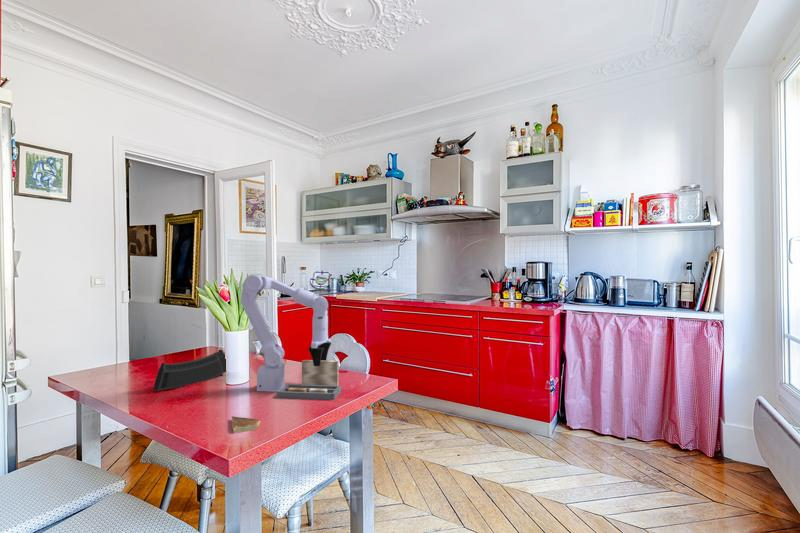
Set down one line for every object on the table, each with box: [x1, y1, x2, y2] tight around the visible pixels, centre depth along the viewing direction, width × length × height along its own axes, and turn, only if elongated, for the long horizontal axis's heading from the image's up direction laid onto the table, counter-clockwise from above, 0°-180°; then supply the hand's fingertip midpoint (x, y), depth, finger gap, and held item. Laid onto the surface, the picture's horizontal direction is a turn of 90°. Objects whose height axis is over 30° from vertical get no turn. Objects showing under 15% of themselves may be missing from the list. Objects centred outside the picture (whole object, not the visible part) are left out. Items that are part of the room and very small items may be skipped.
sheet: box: [301, 359, 340, 386], centre depth 147 cm, size 14×2×10 cm, turn 84°
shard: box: [231, 416, 261, 434], centre depth 111 cm, size 11×8×2 cm
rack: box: [277, 383, 342, 401], centre depth 136 cm, size 20×10×3 cm, turn 84°
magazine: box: [153, 349, 227, 391], centre depth 152 cm, size 17×3×30 cm
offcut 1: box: [288, 388, 307, 392], centre depth 134 cm, size 6×2×2 cm, turn 84°
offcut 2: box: [309, 388, 327, 393], centre depth 133 cm, size 6×2×2 cm, turn 84°
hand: (320, 363), depth 147 cm, fingers open, 7 cm apart
